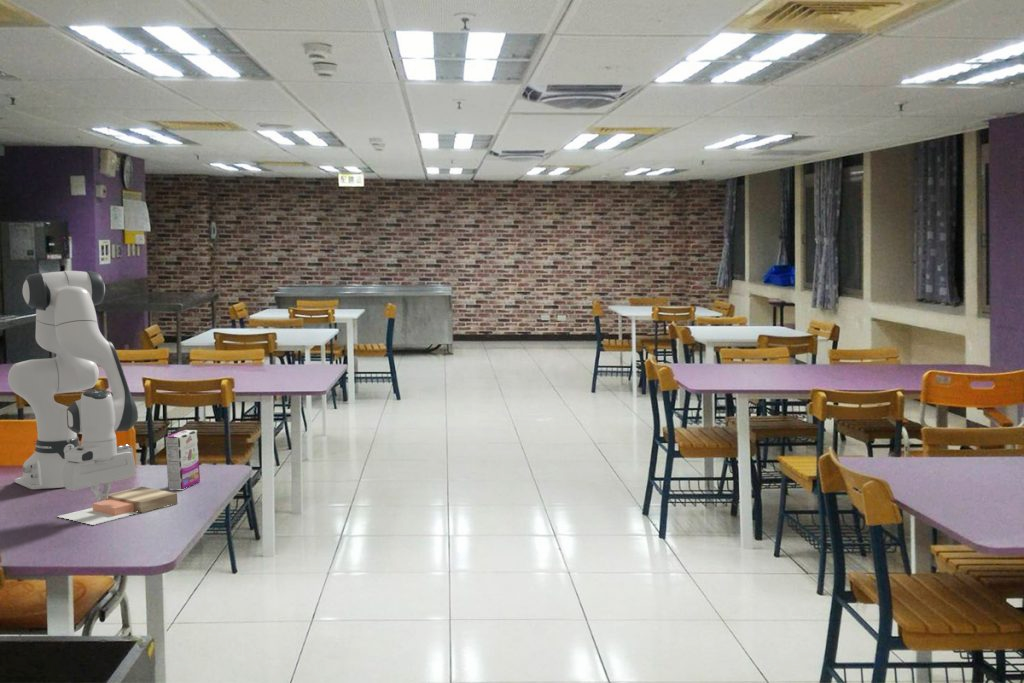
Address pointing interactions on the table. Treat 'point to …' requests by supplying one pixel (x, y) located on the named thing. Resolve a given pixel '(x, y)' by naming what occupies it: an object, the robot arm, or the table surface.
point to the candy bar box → (182, 459)
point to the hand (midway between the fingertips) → (101, 499)
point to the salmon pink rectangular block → (113, 507)
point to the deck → (145, 498)
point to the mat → (93, 516)
